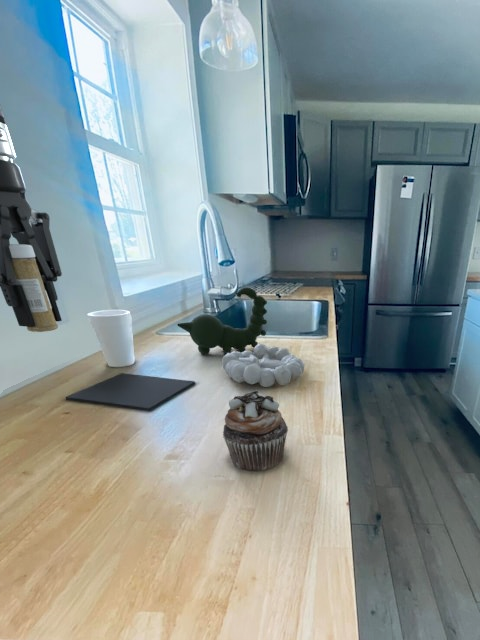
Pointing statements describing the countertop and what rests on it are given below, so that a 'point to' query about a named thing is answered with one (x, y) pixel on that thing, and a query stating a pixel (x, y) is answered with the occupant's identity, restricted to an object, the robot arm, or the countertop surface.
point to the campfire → (263, 365)
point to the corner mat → (132, 391)
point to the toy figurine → (228, 328)
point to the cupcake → (255, 432)
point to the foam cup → (114, 335)
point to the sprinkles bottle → (32, 287)
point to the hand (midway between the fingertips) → (41, 322)
